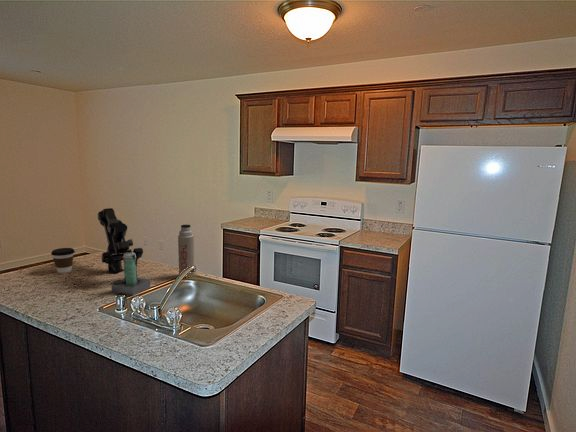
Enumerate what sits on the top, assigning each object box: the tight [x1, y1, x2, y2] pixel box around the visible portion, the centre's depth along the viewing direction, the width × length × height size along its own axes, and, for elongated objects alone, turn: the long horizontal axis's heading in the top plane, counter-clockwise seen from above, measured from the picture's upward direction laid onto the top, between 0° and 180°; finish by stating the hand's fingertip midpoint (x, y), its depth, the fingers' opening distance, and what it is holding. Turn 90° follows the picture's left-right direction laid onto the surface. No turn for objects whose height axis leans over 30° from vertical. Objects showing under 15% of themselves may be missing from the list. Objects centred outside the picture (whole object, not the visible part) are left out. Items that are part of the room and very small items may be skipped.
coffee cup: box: [50, 247, 76, 274], centre depth 198 cm, size 11×11×12 cm
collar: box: [111, 277, 151, 297], centre depth 175 cm, size 12×12×4 cm
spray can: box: [123, 248, 138, 285], centre depth 173 cm, size 6×6×20 cm
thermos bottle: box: [177, 224, 195, 277], centre depth 194 cm, size 8×8×28 cm
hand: (126, 269), depth 180 cm, fingers open, 9 cm apart
